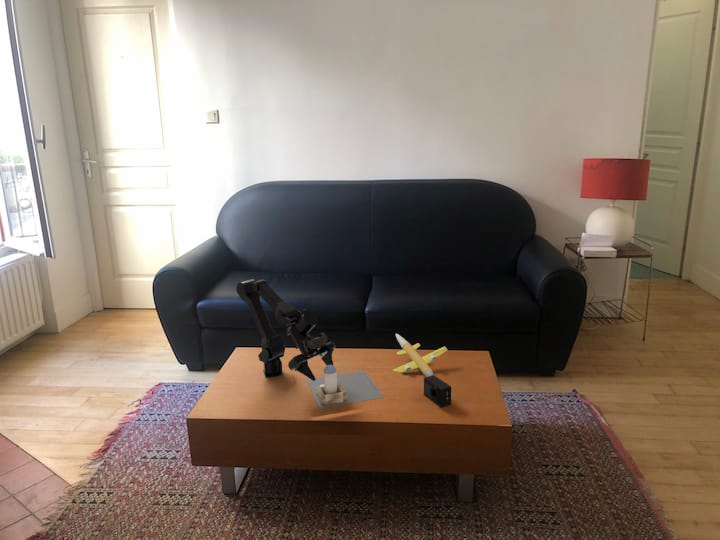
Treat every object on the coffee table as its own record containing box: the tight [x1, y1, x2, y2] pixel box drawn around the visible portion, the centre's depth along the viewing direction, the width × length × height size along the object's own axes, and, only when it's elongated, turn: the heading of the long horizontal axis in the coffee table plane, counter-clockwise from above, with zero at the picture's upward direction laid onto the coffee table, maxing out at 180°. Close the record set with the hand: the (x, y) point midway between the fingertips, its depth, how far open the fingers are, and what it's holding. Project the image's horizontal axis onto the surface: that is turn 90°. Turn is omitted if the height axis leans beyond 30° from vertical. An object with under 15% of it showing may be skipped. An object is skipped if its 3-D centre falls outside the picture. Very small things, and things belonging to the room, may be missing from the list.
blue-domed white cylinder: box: [323, 364, 338, 395], centre depth 188 cm, size 4×4×12 cm
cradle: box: [316, 383, 347, 405], centre depth 189 cm, size 9×9×3 cm
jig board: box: [305, 370, 385, 410], centre depth 196 cm, size 23×23×1 cm
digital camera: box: [423, 374, 452, 408], centre depth 187 cm, size 10×5×7 cm, turn 28°
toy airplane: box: [392, 333, 448, 377], centre depth 215 cm, size 26×7×30 cm
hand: (324, 375), depth 190 cm, fingers open, 9 cm apart
